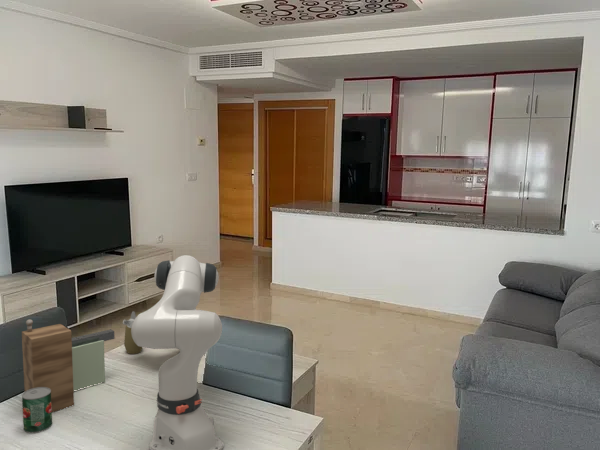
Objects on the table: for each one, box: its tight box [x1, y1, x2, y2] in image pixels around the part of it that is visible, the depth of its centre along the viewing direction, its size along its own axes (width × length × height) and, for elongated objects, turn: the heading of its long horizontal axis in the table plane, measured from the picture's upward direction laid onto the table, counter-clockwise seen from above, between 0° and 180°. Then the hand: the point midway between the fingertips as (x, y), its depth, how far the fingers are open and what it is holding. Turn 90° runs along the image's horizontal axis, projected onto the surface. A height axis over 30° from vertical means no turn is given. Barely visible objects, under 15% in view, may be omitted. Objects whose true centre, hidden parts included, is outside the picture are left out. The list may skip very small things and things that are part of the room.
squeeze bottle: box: [123, 310, 143, 355], centre depth 209 cm, size 8×8×18 cm
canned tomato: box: [21, 387, 53, 434], centre depth 148 cm, size 8×8×11 cm
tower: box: [21, 319, 75, 413], centre depth 160 cm, size 10×12×30 cm
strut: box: [72, 328, 115, 347], centre depth 177 cm, size 3×20×3 cm, turn 135°
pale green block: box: [72, 340, 106, 391], centre depth 176 cm, size 8×15×16 cm, turn 136°
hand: (129, 324), depth 189 cm, fingers open, 8 cm apart
